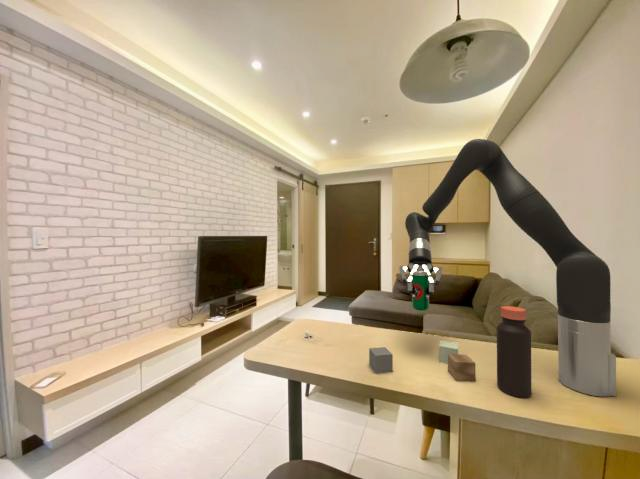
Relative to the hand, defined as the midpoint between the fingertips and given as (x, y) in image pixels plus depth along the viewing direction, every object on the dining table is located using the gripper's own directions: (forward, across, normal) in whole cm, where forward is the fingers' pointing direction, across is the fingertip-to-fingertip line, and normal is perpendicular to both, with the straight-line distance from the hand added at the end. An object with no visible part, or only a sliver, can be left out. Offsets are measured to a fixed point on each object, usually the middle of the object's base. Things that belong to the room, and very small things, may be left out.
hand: (420, 293), depth 81 cm
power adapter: (+13, -39, +16) cm, 44 cm away
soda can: (+2, 0, +5) cm, 6 cm away
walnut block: (+20, +10, +8) cm, 24 cm away
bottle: (+22, +21, +6) cm, 31 cm away
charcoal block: (+22, -11, +6) cm, 26 cm away
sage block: (+14, +8, +15) cm, 22 cm away
